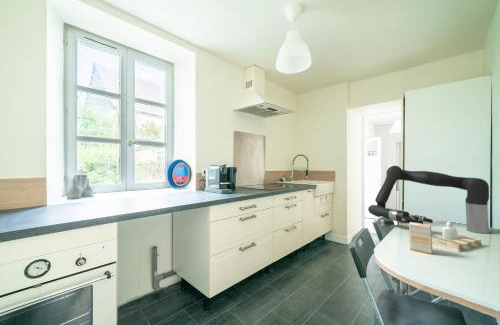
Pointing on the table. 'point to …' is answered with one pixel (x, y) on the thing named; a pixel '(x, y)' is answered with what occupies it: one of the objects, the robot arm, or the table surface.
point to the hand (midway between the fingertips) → (427, 222)
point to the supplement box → (420, 237)
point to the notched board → (457, 242)
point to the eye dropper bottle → (449, 232)
